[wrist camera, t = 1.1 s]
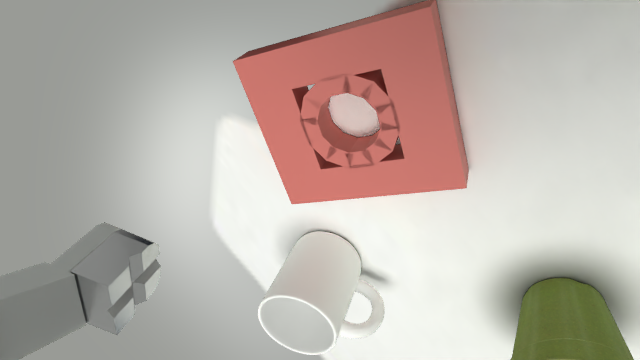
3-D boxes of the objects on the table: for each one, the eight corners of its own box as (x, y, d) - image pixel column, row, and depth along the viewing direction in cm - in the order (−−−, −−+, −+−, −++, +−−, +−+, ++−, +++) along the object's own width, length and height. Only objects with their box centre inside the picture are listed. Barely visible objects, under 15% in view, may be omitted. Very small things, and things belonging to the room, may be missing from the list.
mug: (404, 259, 47) (384, 336, 39) (382, 305, 52) (360, 382, 44) (302, 217, 49) (263, 283, 41) (290, 266, 54) (253, 333, 46)
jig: (435, -3, 32) (430, 6, 30) (468, 170, 39) (466, 188, 37) (248, 51, 40) (232, 61, 38) (302, 188, 46) (291, 204, 44)
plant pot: (473, 298, 47) (466, 393, 38) (563, 237, 39) (581, 337, 31) (561, 359, 47) (575, 468, 38) (666, 310, 40) (713, 430, 31)
